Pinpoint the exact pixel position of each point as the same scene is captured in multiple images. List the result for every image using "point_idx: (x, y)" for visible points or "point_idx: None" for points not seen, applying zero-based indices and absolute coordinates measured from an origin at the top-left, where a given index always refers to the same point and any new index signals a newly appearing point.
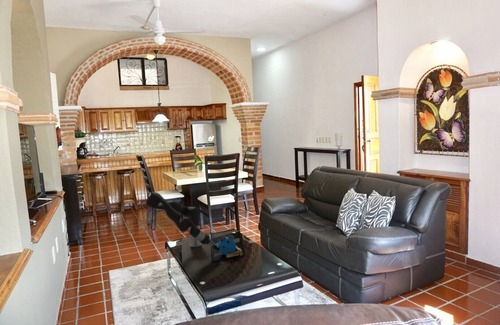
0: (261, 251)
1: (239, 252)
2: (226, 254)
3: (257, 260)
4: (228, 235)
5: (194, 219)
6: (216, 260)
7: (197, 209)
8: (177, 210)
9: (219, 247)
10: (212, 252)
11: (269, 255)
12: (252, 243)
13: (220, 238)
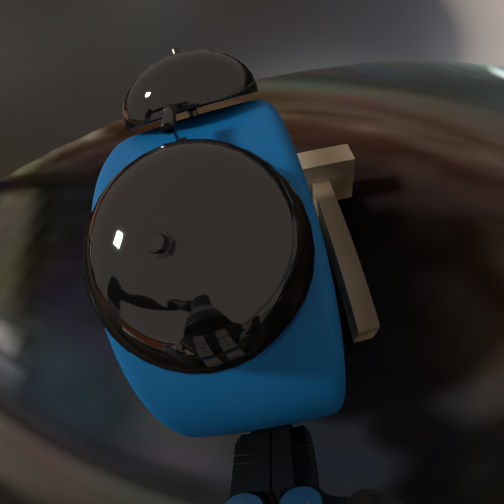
0: (306, 80)
1: (331, 184)
2: (369, 330)
3: (473, 122)
4: (147, 94)
5: None
6: (408, 468)
7: None
8: None
9: (306, 420)
10: (104, 459)
11: (393, 66)
12: (120, 121)
13: (232, 337)
